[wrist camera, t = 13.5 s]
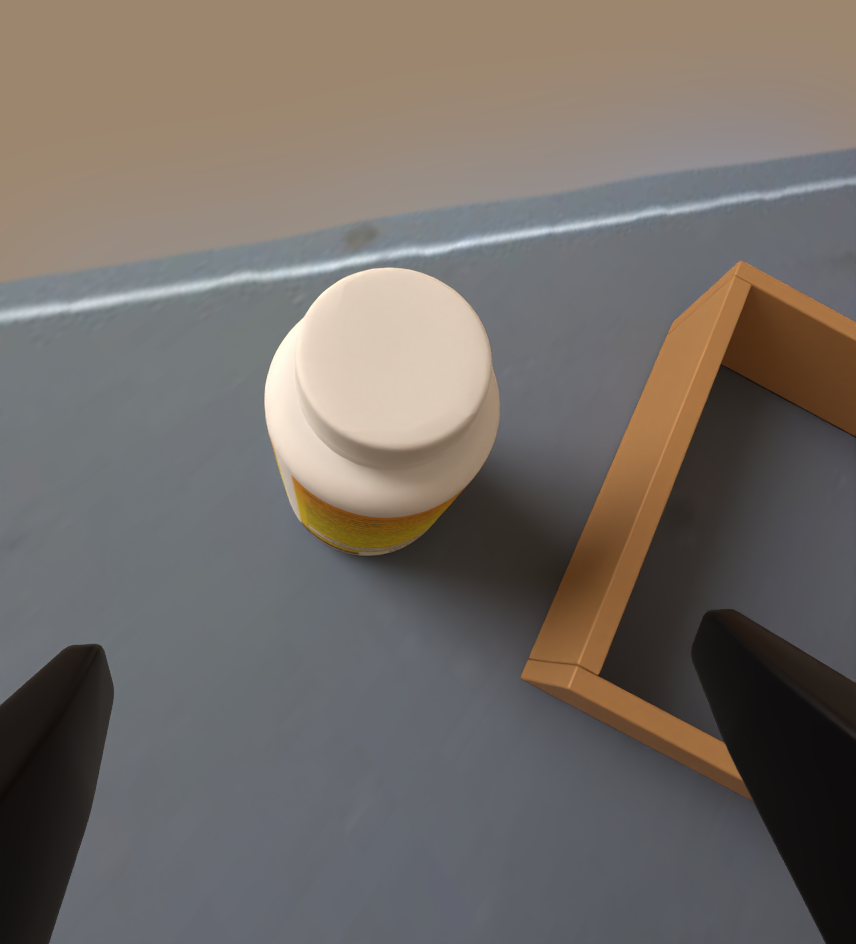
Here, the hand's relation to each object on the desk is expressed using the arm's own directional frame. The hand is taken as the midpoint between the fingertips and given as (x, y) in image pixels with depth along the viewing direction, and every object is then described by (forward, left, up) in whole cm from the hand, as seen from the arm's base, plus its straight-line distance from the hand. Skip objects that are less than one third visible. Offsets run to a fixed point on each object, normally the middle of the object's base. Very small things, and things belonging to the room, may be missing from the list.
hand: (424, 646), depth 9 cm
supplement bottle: (+5, -1, -12) cm, 13 cm away
